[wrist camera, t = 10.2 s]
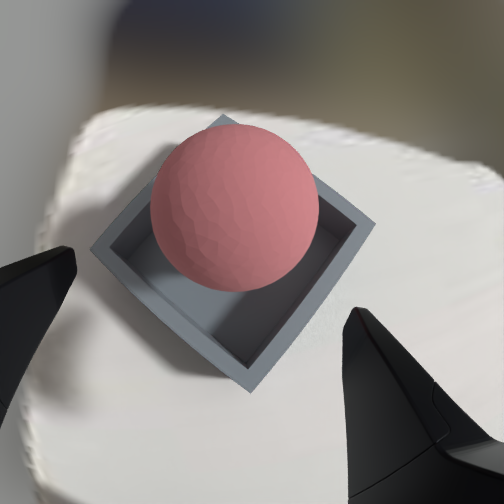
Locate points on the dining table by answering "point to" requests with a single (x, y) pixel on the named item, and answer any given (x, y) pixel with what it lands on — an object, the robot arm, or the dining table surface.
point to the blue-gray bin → (234, 303)
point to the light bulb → (234, 208)
